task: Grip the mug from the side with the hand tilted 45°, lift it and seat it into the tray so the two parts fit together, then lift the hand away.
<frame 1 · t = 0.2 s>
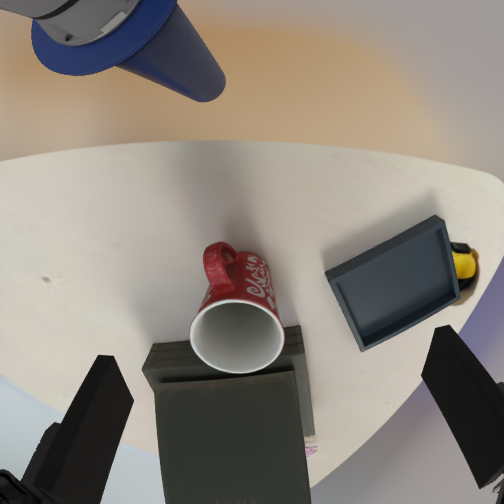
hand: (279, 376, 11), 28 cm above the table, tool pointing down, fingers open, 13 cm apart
tray: (396, 282, 40), on the table
mug: (240, 264, 40), on the table
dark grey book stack: (237, 380, 48), on the table
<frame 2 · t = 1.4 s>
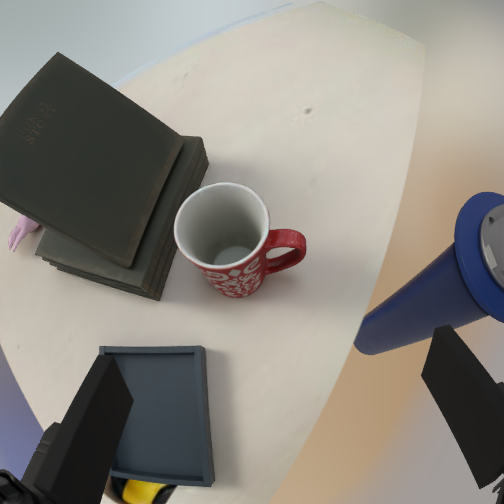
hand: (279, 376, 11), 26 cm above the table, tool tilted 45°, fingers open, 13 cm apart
pink toy figure: (39, 221, 47), on the table
tray: (156, 415, 33), on the table
mug: (250, 274, 40), on the table
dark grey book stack: (129, 215, 45), on the table
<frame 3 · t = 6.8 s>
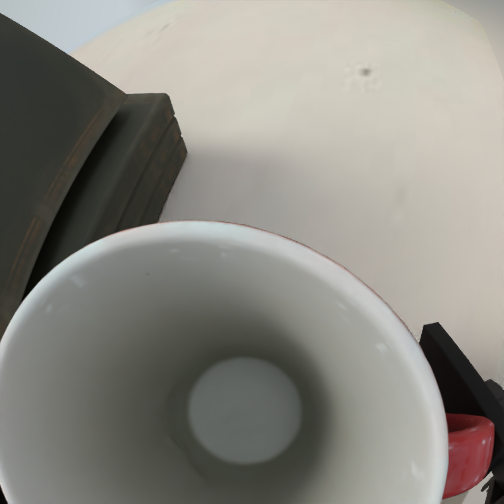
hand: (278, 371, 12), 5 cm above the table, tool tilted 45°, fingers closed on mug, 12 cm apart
mug: (275, 415, 16), on the table, touching gripper
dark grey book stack: (38, 260, 21), on the table
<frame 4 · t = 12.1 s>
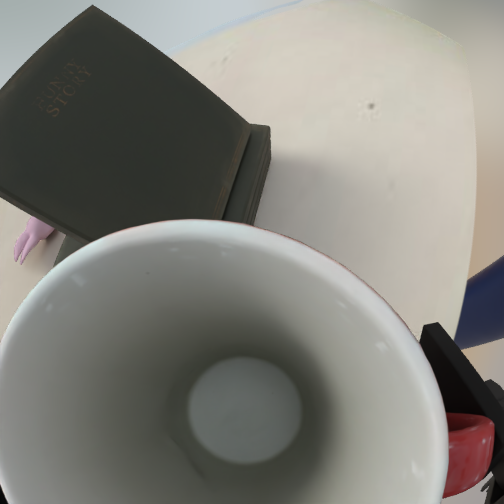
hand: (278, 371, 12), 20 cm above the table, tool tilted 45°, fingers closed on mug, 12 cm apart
pink toy figure: (52, 225, 39), on the table
mug: (275, 415, 16), point 14 cm above the table, touching gripper
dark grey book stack: (174, 220, 37), on the table
when the fingers open (6 cm above the table, at t = 17.6 s): mug stays where it is, resting on tray.
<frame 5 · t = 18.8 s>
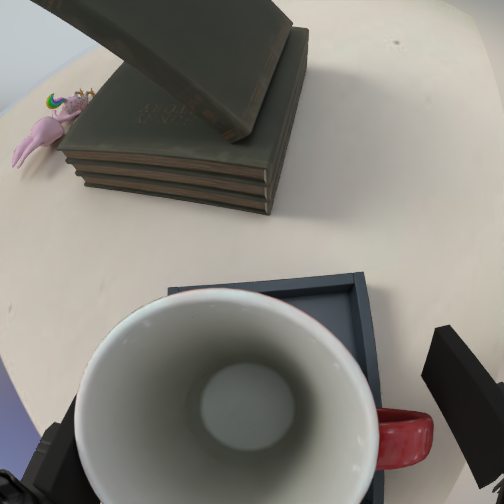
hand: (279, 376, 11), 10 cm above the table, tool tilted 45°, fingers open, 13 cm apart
pink toy figure: (59, 135, 33), on the table
tray: (275, 409, 20), on the table
mug: (272, 410, 19), resting on tray
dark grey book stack: (204, 114, 31), on the table
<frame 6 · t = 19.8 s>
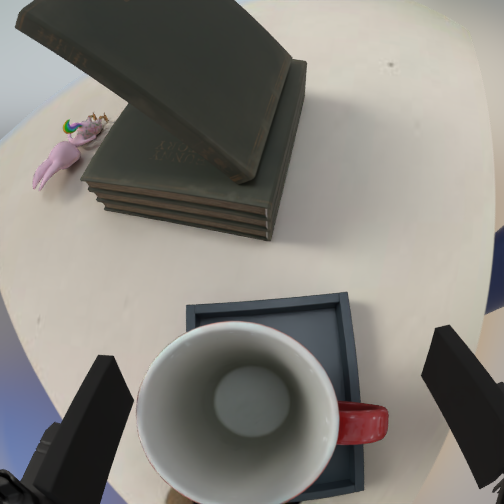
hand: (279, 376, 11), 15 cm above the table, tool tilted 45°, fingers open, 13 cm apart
pink toy figure: (76, 158, 37), on the table
tray: (274, 404, 24), on the table
mug: (272, 404, 24), resting on tray
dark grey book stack: (211, 144, 36), on the table
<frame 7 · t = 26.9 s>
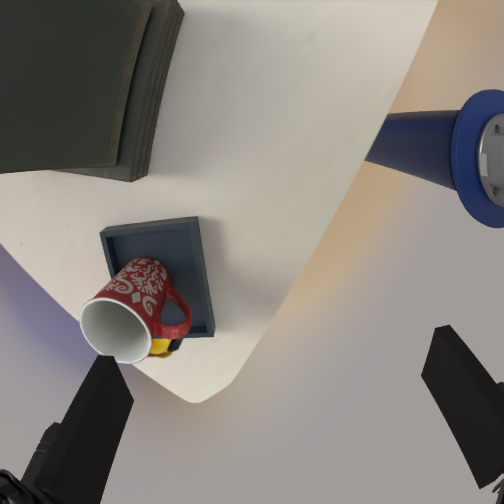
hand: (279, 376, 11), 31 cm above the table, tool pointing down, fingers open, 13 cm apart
tray: (161, 279, 44), on the table
mug: (159, 280, 44), resting on tray
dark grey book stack: (99, 85, 34), on the table
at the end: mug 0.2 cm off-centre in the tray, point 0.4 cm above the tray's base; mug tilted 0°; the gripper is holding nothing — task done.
